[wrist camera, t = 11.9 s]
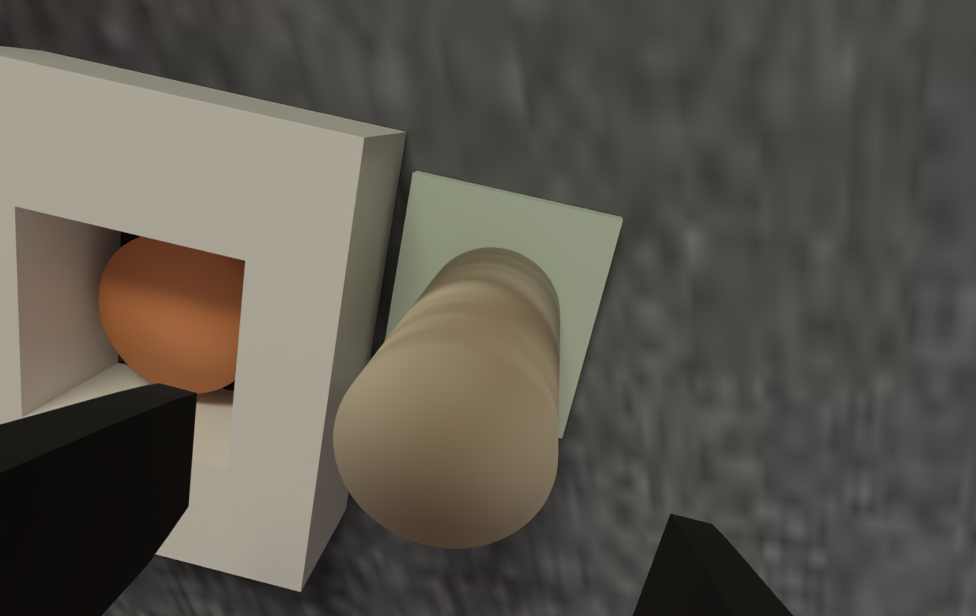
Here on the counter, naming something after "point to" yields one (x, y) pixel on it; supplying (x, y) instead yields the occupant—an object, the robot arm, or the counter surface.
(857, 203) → the counter surface
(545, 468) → the beige cylinder
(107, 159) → the block
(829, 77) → the counter surface
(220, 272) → the button
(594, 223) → the plate
